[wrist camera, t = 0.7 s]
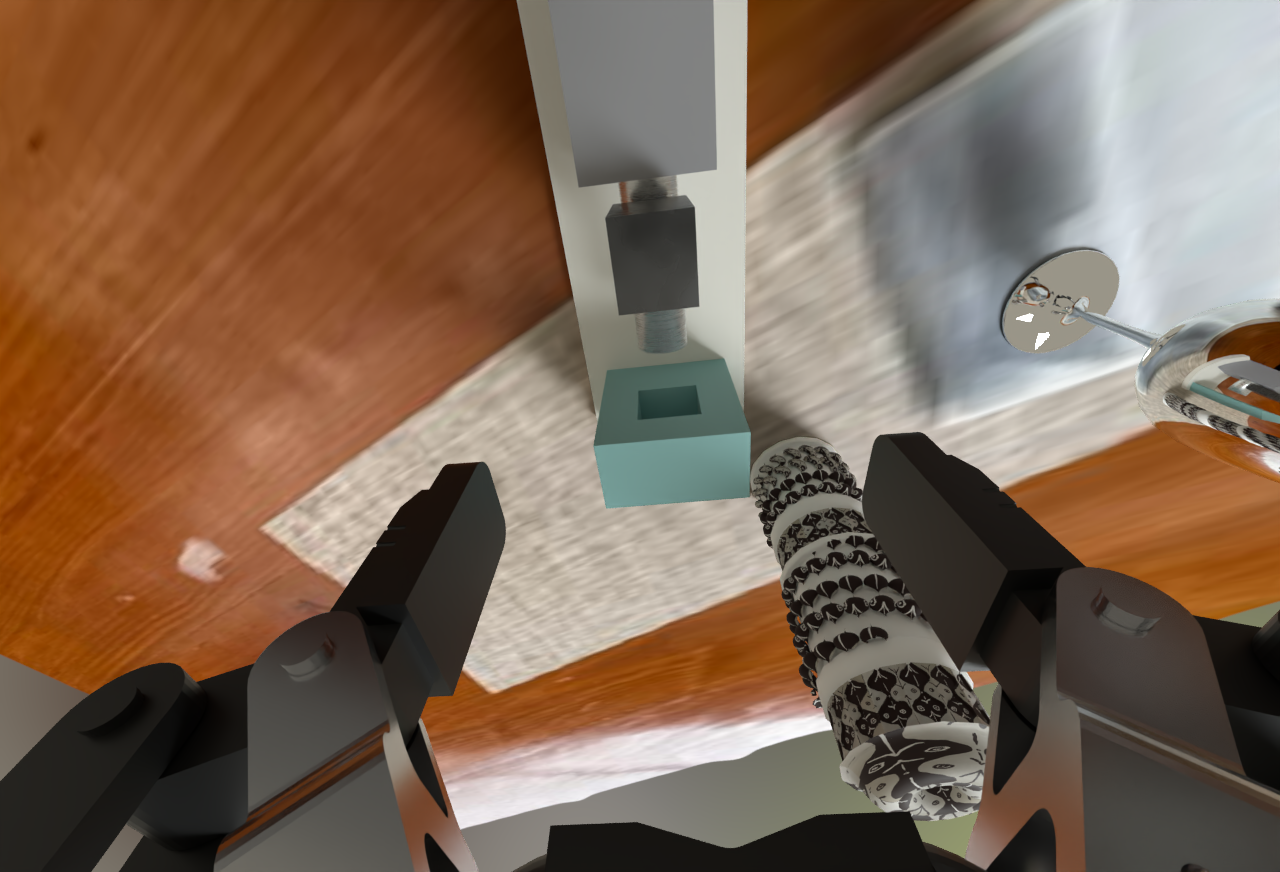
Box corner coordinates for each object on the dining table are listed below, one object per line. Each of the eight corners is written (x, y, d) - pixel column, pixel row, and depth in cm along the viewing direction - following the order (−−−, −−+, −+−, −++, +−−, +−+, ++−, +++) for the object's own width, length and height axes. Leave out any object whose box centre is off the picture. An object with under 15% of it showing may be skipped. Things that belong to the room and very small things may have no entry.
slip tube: (569, -170, 18) (524, -349, 11) (660, -188, 18) (668, -381, 11) (634, 338, 29) (630, 394, 23) (690, 332, 29) (702, 387, 22)
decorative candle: (744, 516, 45) (829, 840, 24) (745, 437, 40) (852, 760, 19) (839, 508, 45) (1011, 836, 24) (852, 428, 40) (1084, 751, 19)
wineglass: (1066, 362, 36) (1432, 555, 19) (977, 342, 35) (1278, 523, 18) (1145, 261, 32) (1698, 393, 15) (1046, 235, 31) (1514, 344, 14)
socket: (606, 370, 35) (593, 446, 27) (724, 358, 35) (750, 432, 26) (615, 423, 38) (606, 508, 29) (725, 413, 37) (749, 497, 28)
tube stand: (494, -147, 22) (392, -340, 13) (743, -193, 21) (811, -433, 13) (599, 417, 39) (585, 498, 30) (740, 404, 39) (768, 483, 30)
